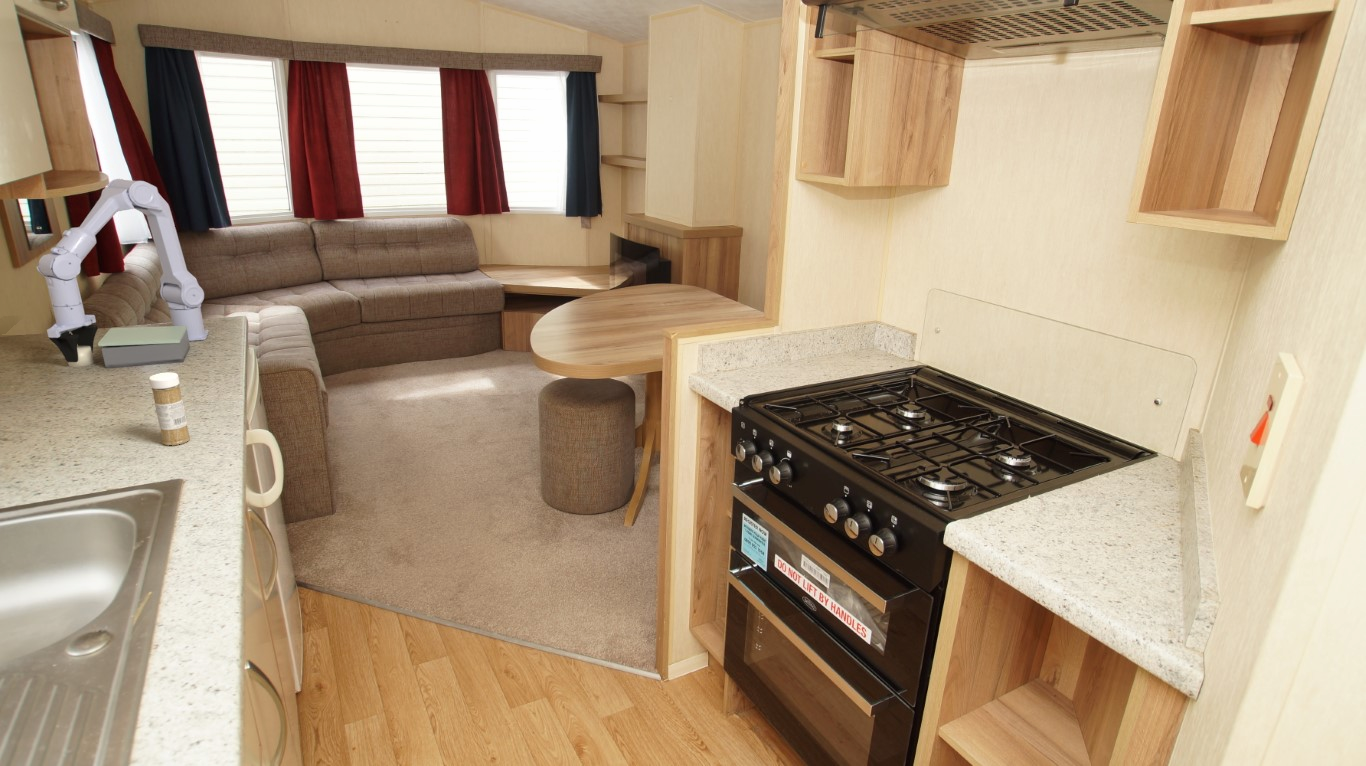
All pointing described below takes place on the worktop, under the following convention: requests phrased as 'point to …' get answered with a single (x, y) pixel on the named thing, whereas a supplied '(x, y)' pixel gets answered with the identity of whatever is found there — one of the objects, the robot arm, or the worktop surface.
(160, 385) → the sprinkles bottle
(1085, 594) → the worktop surface
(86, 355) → the cream rounded cup
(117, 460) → the worktop surface
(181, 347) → the box
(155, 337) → the lid
